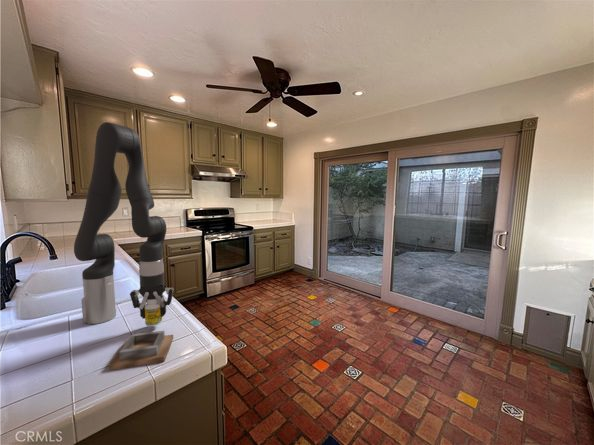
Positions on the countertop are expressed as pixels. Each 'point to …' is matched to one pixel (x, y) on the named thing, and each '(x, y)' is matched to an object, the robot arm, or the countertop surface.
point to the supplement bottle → (152, 312)
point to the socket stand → (142, 350)
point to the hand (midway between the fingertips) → (153, 316)
